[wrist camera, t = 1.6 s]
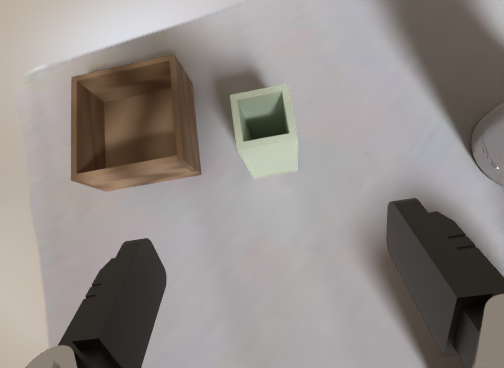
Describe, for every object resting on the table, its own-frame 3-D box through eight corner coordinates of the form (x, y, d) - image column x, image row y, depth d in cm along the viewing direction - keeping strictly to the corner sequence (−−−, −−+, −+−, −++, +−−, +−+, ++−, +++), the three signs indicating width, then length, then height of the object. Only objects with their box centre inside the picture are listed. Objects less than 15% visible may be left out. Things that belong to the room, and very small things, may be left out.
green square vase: (290, 129, 35) (287, 83, 25) (297, 170, 34) (298, 138, 24) (247, 137, 36) (229, 95, 26) (253, 178, 34) (236, 149, 25)
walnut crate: (192, 83, 38) (174, 54, 33) (201, 174, 35) (183, 160, 30) (103, 101, 39) (71, 77, 34) (105, 191, 37) (71, 180, 31)
